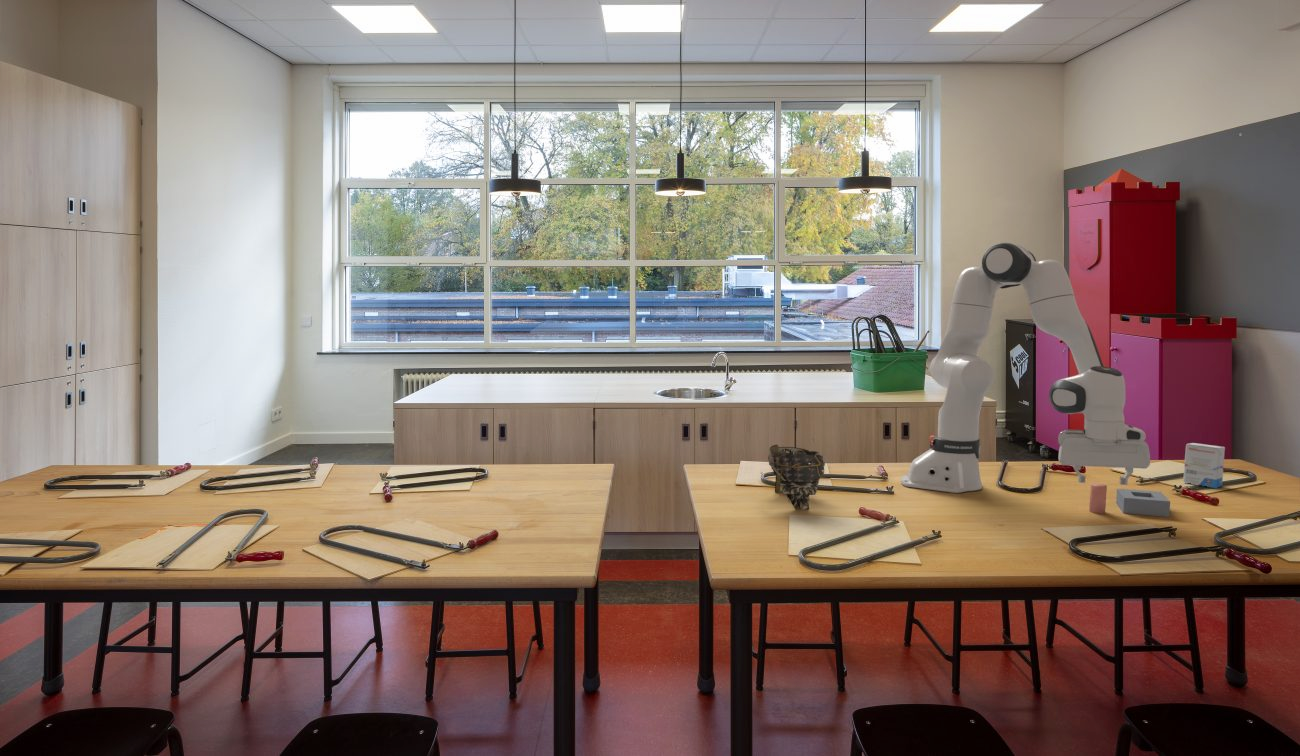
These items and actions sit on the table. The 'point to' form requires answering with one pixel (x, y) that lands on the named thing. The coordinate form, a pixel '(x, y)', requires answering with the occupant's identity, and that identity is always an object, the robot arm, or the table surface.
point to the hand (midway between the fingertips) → (1102, 483)
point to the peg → (1098, 498)
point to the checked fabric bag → (796, 473)
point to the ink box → (1204, 465)
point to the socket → (1143, 502)
